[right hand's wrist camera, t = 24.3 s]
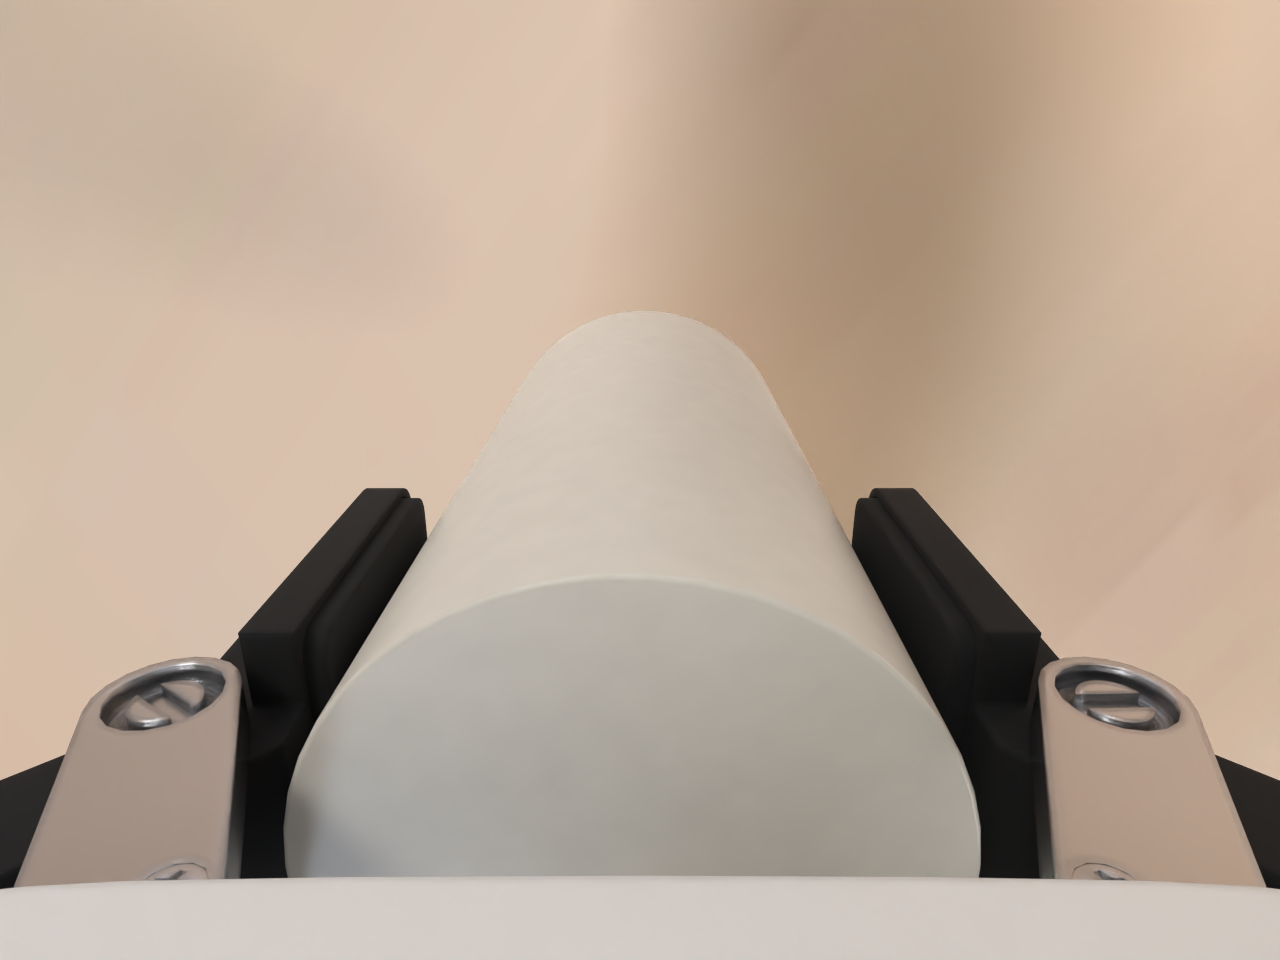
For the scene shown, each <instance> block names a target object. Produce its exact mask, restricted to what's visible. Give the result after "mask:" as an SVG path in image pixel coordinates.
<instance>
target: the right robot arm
mask: <svg viewBox="0 0 1280 960" xmlns="http://www.w3.org/2000/svg"><path fill="white" fill-rule="evenodd" d="M426 541H427V531H426V521H425V511H424V505H423V502H422V500H421V499H420V498H410V494H409V492H408V491H407V489H405V488H366V489H365V490H363V492H362V493H361V494H360V495H359V496H358V497H357V498H356V500H355V501H354V502H353V503H352V504H351V505H350V506H349V507H348V509H347V510H346V511H345V512H344V513H343V514H342V515H341V517H340V518H339V519H338V520H337V521H336V522H335V523H334V525H333V526H332V527H331V528H330V529H329V530H328V531H327V533H326V534H325V535H324V536H323V537H322V538H321V539H320V540H319V542H318V543H317V544H316V545H315V546H314V547H313V548H312V550H311V551H310V552H309V553H308V554H307V555H306V556H305V558H304V559H303V560H302V561H301V562H300V563H299V564H298V566H297V567H296V568H295V569H294V570H293V571H292V572H291V573H290V575H289V576H288V577H287V578H286V579H285V580H284V581H283V583H282V584H281V585H280V586H279V587H278V588H277V589H276V591H275V592H274V593H273V594H272V595H271V596H270V597H269V598H268V600H267V601H266V602H265V603H264V604H263V605H262V606H261V608H260V609H259V610H258V611H257V612H256V613H255V614H254V616H253V617H252V618H251V619H250V620H249V621H248V622H247V624H246V625H245V626H244V627H243V628H242V629H241V630H240V631H239V633H238V635H239V638H238V639H237V640H236V641H235V643H234V644H233V645H232V646H231V647H230V648H229V649H228V651H227V652H226V653H225V654H224V655H223V656H222V658H221V659H217V658H208V657H190V658H181V659H173V660H169V661H165V662H161V663H157V664H153V665H149V666H147V667H144V668H141V669H139V670H136V671H134V672H131V673H129V674H126V675H125V676H123V677H121V678H119V679H117V680H116V681H114V682H112V683H110V684H109V685H107V686H105V687H104V688H103V689H102V690H101V691H99V692H98V693H97V694H96V695H95V696H93V697H92V698H91V699H90V701H89V702H88V704H87V705H86V707H85V708H84V710H83V711H82V713H81V716H80V718H79V721H78V723H77V726H76V729H75V731H74V734H73V736H72V739H71V741H70V744H69V747H68V749H67V752H66V754H65V755H63V756H60V757H58V758H55V759H53V760H50V761H48V762H45V763H43V764H40V765H38V766H35V767H33V768H30V769H28V770H25V771H23V772H20V773H18V774H15V775H13V776H10V777H8V778H5V779H3V780H0V960H1280V781H1279V780H1277V779H1274V778H1272V777H1269V776H1267V775H1264V774H1262V773H1259V772H1257V771H1254V770H1252V769H1249V768H1247V767H1244V766H1242V765H1239V764H1237V763H1234V762H1232V761H1229V760H1227V759H1224V758H1222V757H1219V756H1217V755H1215V754H1214V752H1213V749H1212V747H1211V744H1210V741H1209V739H1208V736H1207V734H1206V731H1205V729H1204V726H1203V724H1202V721H1201V718H1200V716H1199V713H1198V711H1197V710H1196V708H1195V707H1194V705H1193V704H1192V702H1191V701H1190V699H1189V698H1188V697H1187V696H1185V695H1184V694H1183V693H1182V692H1181V691H1179V690H1178V689H1177V688H1176V687H1175V686H1173V685H1171V684H1170V683H1168V682H1166V681H1164V680H1163V679H1161V678H1159V677H1157V676H1155V675H1154V674H1151V673H1149V672H1146V671H1144V670H1141V669H1139V668H1136V667H1133V666H1131V665H1127V664H1123V663H1119V662H1115V661H1111V660H1107V659H1099V658H1090V657H1072V658H1063V659H1059V658H1058V657H1057V656H1056V655H1055V653H1054V652H1053V651H1052V650H1051V649H1050V648H1049V647H1048V645H1047V644H1046V643H1045V642H1044V641H1043V640H1042V638H1041V632H1040V631H1039V630H1038V629H1037V628H1036V626H1035V625H1034V624H1033V623H1032V622H1031V621H1030V620H1029V618H1028V617H1027V616H1026V615H1025V614H1024V613H1023V612H1022V610H1021V609H1020V608H1019V607H1018V606H1017V605H1016V604H1015V602H1014V601H1013V600H1012V599H1011V598H1010V597H1009V596H1008V594H1007V593H1006V592H1005V591H1004V590H1003V589H1002V588H1001V587H1000V585H999V584H998V583H997V582H996V581H995V580H994V579H993V577H992V576H991V575H990V574H989V573H988V572H987V571H986V569H985V568H984V567H983V566H982V565H981V564H980V563H979V561H978V560H977V559H976V558H975V557H974V556H973V555H972V553H971V552H970V551H969V550H968V549H967V548H966V547H965V546H964V544H963V543H962V542H961V541H960V540H959V539H958V538H957V536H956V535H955V534H954V533H953V532H952V531H951V530H950V528H949V527H948V526H947V525H946V524H945V523H944V522H943V520H942V519H941V518H940V517H939V516H938V515H937V514H936V512H935V511H934V510H933V509H932V508H931V507H930V506H929V505H928V503H927V502H926V501H925V500H924V499H923V498H922V497H921V495H920V494H919V493H918V492H917V491H916V490H915V489H913V488H875V489H873V490H872V491H871V493H870V496H869V498H860V499H859V500H858V501H857V504H856V509H855V517H854V527H853V537H852V548H853V550H854V552H855V553H856V555H857V557H858V559H859V561H860V563H861V565H862V567H863V569H864V571H865V572H866V574H867V576H868V578H869V580H870V582H871V584H872V586H873V588H874V590H875V591H876V593H877V595H878V597H879V599H880V601H881V603H882V605H883V607H884V609H885V610H886V612H887V614H888V616H889V618H890V620H891V622H892V624H893V626H894V628H895V630H896V631H897V633H898V635H899V637H900V639H901V641H902V643H903V645H904V647H905V649H906V650H907V652H908V654H909V656H910V658H911V660H912V662H913V664H914V666H915V668H916V669H917V671H918V673H919V675H920V677H921V679H922V681H923V683H924V685H925V687H926V688H927V690H928V692H929V694H930V696H931V698H932V700H933V702H934V704H935V706H936V707H937V709H938V711H939V713H940V715H941V717H942V719H943V721H944V723H945V725H946V726H947V728H948V730H949V732H950V734H951V736H952V738H953V740H954V742H955V744H956V745H957V747H958V749H959V751H960V753H961V755H962V758H963V761H964V763H965V766H966V769H967V772H968V774H969V777H970V780H971V783H972V786H973V788H974V791H975V797H976V803H977V809H978V814H979V820H980V826H981V866H980V872H979V878H962V877H829V876H451V877H318V878H288V876H287V871H286V867H285V850H284V819H285V811H286V803H287V794H288V790H289V786H290V783H291V780H292V776H293V773H294V770H295V766H296V763H297V760H298V757H299V755H300V753H301V751H302V749H303V747H304V745H305V743H306V741H307V739H308V737H309V735H310V733H311V731H312V729H313V727H314V725H315V723H316V721H317V719H318V718H319V716H320V714H321V713H322V711H323V709H324V708H325V706H326V704H327V703H328V701H329V700H330V698H331V696H332V695H333V693H334V691H335V690H336V688H337V686H338V685H339V683H340V681H341V680H342V678H343V677H344V675H345V673H346V672H347V670H348V668H349V667H350V665H351V663H352V662H353V660H354V659H355V657H356V655H357V654H358V652H359V650H360V649H361V647H362V645H363V644H364V642H365V641H366V639H367V637H368V636H369V634H370V632H371V631H372V629H373V627H374V626H375V624H376V623H377V621H378V619H379V618H380V616H381V614H382V613H383V611H384V609H385V608H386V606H387V604H388V603H389V601H390V600H391V598H392V596H393V595H394V593H395V591H396V590H397V588H398V586H399V585H400V583H401V582H402V580H403V578H404V577H405V575H406V573H407V572H408V570H409V568H410V567H411V565H412V564H413V562H414V560H415V559H416V557H417V555H418V554H419V552H420V550H421V549H422V547H423V545H424V544H425V542H426Z"/></svg>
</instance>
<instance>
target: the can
mask: <svg viewBox="0 0 1280 960" xmlns="http://www.w3.org/2000/svg"><path fill="white" fill-rule="evenodd" d="M284 850H285V867H286V871H287V876H288V878H318V877H451V876H829V877H962V878H979V872H980V866H981V826H980V820H979V814H978V809H977V803H976V797H975V791H974V788H973V786H972V783H971V780H970V777H969V774H968V772H967V769H966V766H965V763H964V761H963V758H962V755H961V753H960V751H959V749H958V747H957V745H956V744H955V742H954V740H953V738H952V736H951V734H950V732H949V730H948V728H947V726H946V725H945V723H944V721H943V719H942V717H941V715H940V713H939V711H938V709H937V707H936V706H935V704H934V702H933V700H932V698H931V696H930V694H929V692H928V690H927V688H926V687H925V685H924V683H923V681H922V679H921V677H920V675H919V673H918V671H917V669H916V668H915V666H914V664H913V662H912V660H911V658H910V656H909V654H908V652H907V650H906V649H905V647H904V645H903V643H902V641H901V639H900V637H899V635H898V633H897V631H896V630H895V628H894V626H893V624H892V622H891V620H890V618H889V616H888V614H887V612H886V610H885V609H884V607H883V605H882V603H881V601H880V599H879V597H878V595H877V593H876V591H875V590H874V588H873V586H872V584H871V582H870V580H869V578H868V576H867V574H866V572H865V571H864V569H863V567H862V565H861V563H860V561H859V559H858V557H857V555H856V553H855V552H854V550H853V548H852V546H851V544H850V542H849V540H848V538H847V536H846V534H845V533H844V531H843V529H842V527H841V525H840V523H839V521H838V519H837V517H836V515H835V514H834V512H833V510H832V508H831V506H830V504H829V502H828V500H827V498H826V496H825V495H824V493H823V491H822V489H821V487H820V485H819V483H818V481H817V479H816V477H815V476H814V474H813V472H812V470H811V468H810V466H809V464H808V462H807V460H806V458H805V457H804V455H803V453H802V451H801V449H800V447H799V445H798V443H797V441H796V439H795V437H794V436H793V434H792V432H791V430H790V428H789V426H788V424H787V422H786V420H785V418H784V417H783V415H782V413H781V411H780V409H779V407H778V405H777V403H776V401H775V399H774V398H773V396H772V394H771V392H770V390H769V388H768V386H767V384H766V383H765V381H764V379H763V377H762V375H761V374H760V372H759V370H758V369H757V368H756V366H755V365H754V364H753V362H752V361H751V360H750V358H749V357H748V356H747V355H746V354H745V353H744V352H743V351H742V350H741V349H740V348H739V347H738V346H737V345H736V344H735V343H733V342H732V341H731V340H729V339H728V338H727V337H725V336H724V335H723V334H721V333H720V332H718V331H716V330H714V329H713V328H711V327H709V326H707V325H706V324H703V323H701V322H698V321H696V320H693V319H691V318H688V317H684V316H680V315H677V314H673V313H667V312H658V311H629V312H623V313H616V314H612V315H608V316H605V317H601V318H598V319H595V320H593V321H591V322H588V323H586V324H584V325H581V326H579V327H578V328H576V329H574V330H573V331H571V332H569V333H568V334H566V335H564V336H563V337H562V338H561V339H560V340H558V341H557V342H556V343H555V344H553V345H552V346H551V347H550V348H549V349H548V350H547V351H546V352H545V353H544V354H543V355H542V356H541V357H540V358H539V360H538V361H537V362H536V364H535V365H534V367H533V368H532V369H531V371H530V372H529V374H528V375H527V377H526V378H525V380H524V382H523V383H522V385H521V387H520V388H519V390H518V391H517V393H516V395H515V396H514V398H513V400H512V401H511V403H510V405H509V406H508V408H507V410H506V411H505V413H504V414H503V416H502V418H501V419H500V421H499V423H498V424H497V426H496V428H495V429H494V431H493V432H492V434H491V436H490V437H489V439H488V441H487V442H486V444H485V446H484V447H483V449H482V450H481V452H480V454H479V455H478V457H477V459H476V460H475V462H474V464H473V465H472V467H471V468H470V470H469V472H468V473H467V475H466V477H465V478H464V480H463V482H462V483H461V485H460V487H459V488H458V490H457V491H456V493H455V495H454V496H453V498H452V500H451V501H450V503H449V505H448V506H447V508H446V509H445V511H444V513H443V514H442V516H441V518H440V519H439V521H438V523H437V524H436V526H435V527H434V529H433V531H432V532H431V534H430V536H429V537H428V539H427V541H426V542H425V544H424V545H423V547H422V549H421V550H420V552H419V554H418V555H417V557H416V559H415V560H414V562H413V564H412V565H411V567H410V568H409V570H408V572H407V573H406V575H405V577H404V578H403V580H402V582H401V583H400V585H399V586H398V588H397V590H396V591H395V593H394V595H393V596H392V598H391V600H390V601H389V603H388V604H387V606H386V608H385V609H384V611H383V613H382V614H381V616H380V618H379V619H378V621H377V623H376V624H375V626H374V627H373V629H372V631H371V632H370V634H369V636H368V637H367V639H366V641H365V642H364V644H363V645H362V647H361V649H360V650H359V652H358V654H357V655H356V657H355V659H354V660H353V662H352V663H351V665H350V667H349V668H348V670H347V672H346V673H345V675H344V677H343V678H342V680H341V681H340V683H339V685H338V686H337V688H336V690H335V691H334V693H333V695H332V696H331V698H330V700H329V701H328V703H327V704H326V706H325V708H324V709H323V711H322V713H321V714H320V716H319V718H318V719H317V721H316V723H315V725H314V727H313V729H312V731H311V733H310V735H309V737H308V739H307V741H306V743H305V745H304V747H303V749H302V751H301V753H300V755H299V757H298V760H297V763H296V766H295V770H294V773H293V776H292V780H291V783H290V786H289V790H288V794H287V803H286V811H285V819H284Z"/></svg>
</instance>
